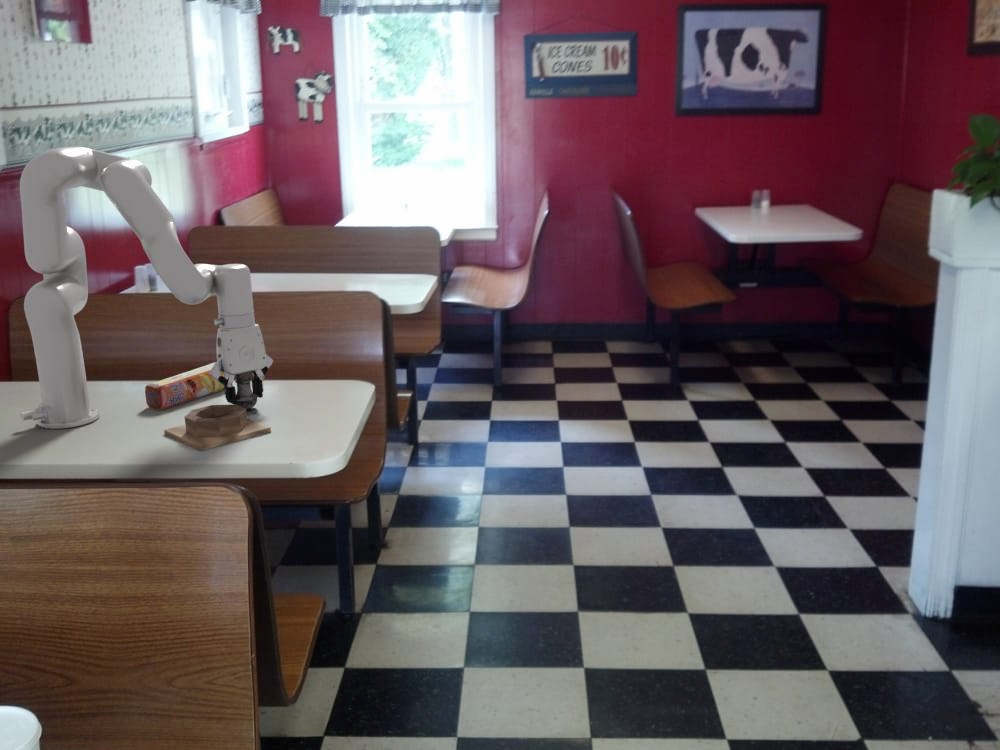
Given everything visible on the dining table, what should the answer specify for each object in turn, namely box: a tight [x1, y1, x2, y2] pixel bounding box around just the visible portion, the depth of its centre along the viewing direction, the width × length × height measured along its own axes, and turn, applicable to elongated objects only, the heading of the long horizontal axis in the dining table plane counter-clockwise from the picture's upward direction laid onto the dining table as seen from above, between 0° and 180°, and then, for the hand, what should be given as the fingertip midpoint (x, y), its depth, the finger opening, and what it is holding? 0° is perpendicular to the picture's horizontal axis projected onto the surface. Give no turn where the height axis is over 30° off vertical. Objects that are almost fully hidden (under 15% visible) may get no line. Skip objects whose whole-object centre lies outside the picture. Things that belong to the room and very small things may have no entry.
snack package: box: [144, 362, 225, 411], centre depth 240 cm, size 21×7×7 cm, turn 147°
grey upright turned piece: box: [234, 372, 259, 416], centre depth 227 cm, size 6×6×12 cm
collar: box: [163, 404, 272, 452], centre depth 214 cm, size 16×16×4 cm
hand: (245, 398), depth 228 cm, fingers closed on grey upright turned piece, 5 cm apart
